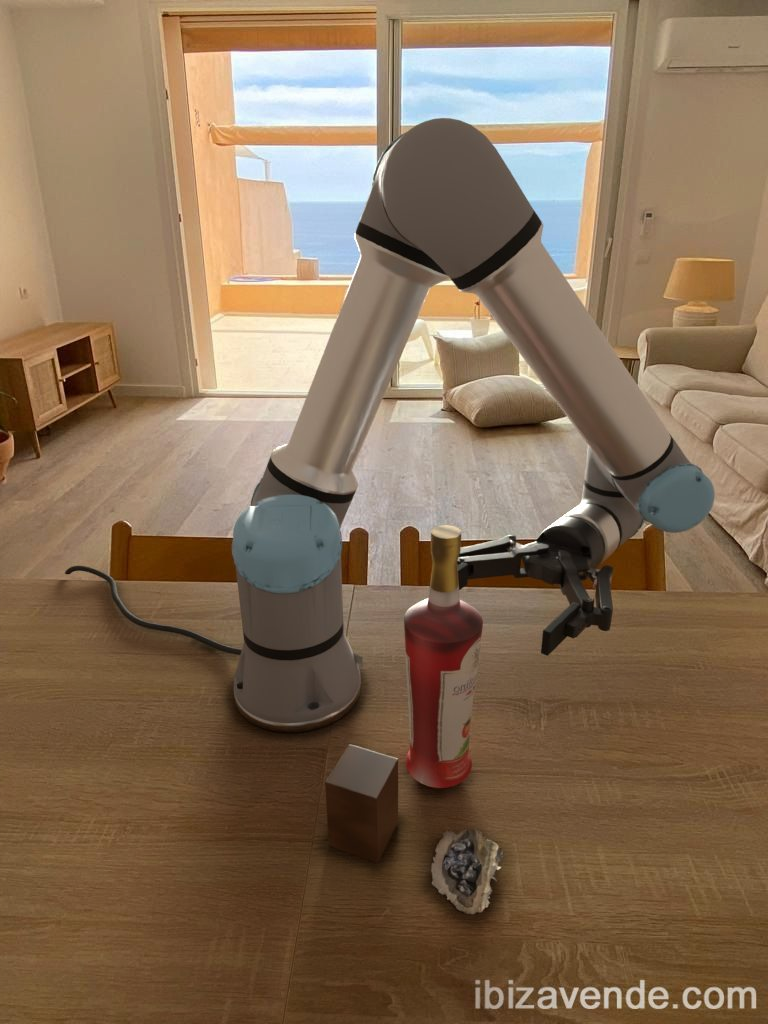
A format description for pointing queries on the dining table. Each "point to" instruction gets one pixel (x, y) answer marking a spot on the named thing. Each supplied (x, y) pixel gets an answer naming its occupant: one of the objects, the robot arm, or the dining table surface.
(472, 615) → the liquor
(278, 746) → the dining table surface
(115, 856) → the dining table surface
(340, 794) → the walnut block
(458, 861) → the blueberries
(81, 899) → the dining table surface
